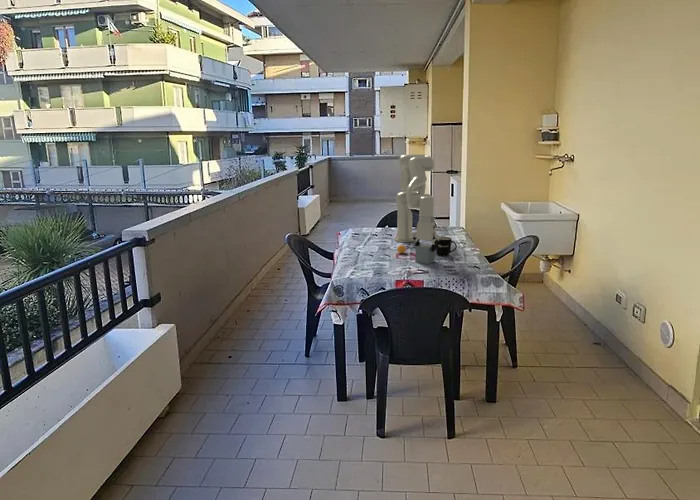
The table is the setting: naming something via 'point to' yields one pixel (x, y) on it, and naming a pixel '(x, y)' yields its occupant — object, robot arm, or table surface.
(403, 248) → the ball
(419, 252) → the grey rounded box
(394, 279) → the table surface
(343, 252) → the table surface
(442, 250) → the mug
